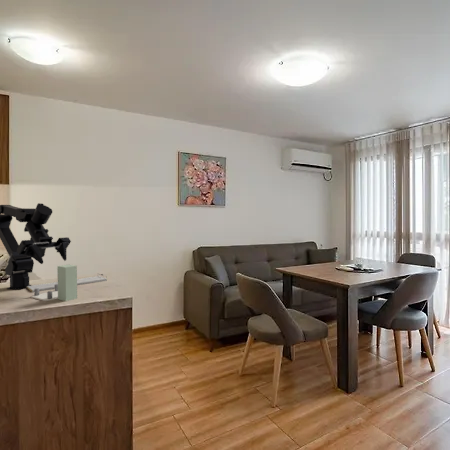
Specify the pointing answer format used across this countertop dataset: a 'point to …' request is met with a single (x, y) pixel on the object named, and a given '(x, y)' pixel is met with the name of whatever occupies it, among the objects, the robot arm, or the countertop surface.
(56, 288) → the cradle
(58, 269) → the pale green rectangular block
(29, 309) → the countertop surface
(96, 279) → the grey bar clamp
